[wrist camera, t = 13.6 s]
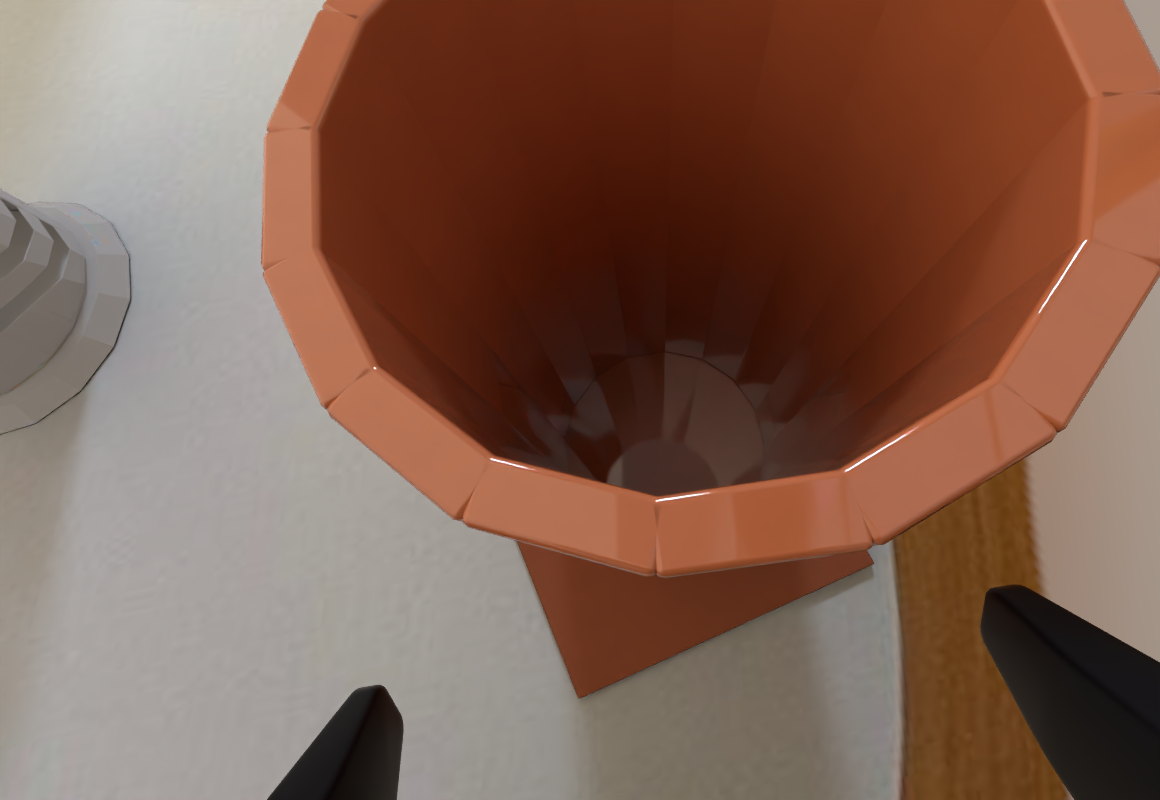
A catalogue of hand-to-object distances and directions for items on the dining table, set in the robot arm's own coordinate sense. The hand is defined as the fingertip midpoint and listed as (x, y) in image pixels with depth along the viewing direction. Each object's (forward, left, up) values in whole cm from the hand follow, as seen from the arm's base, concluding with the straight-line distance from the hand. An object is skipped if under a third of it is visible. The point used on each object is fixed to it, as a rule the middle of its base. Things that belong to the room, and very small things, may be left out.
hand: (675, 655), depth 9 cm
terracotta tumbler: (+4, -2, -8) cm, 9 cm away
